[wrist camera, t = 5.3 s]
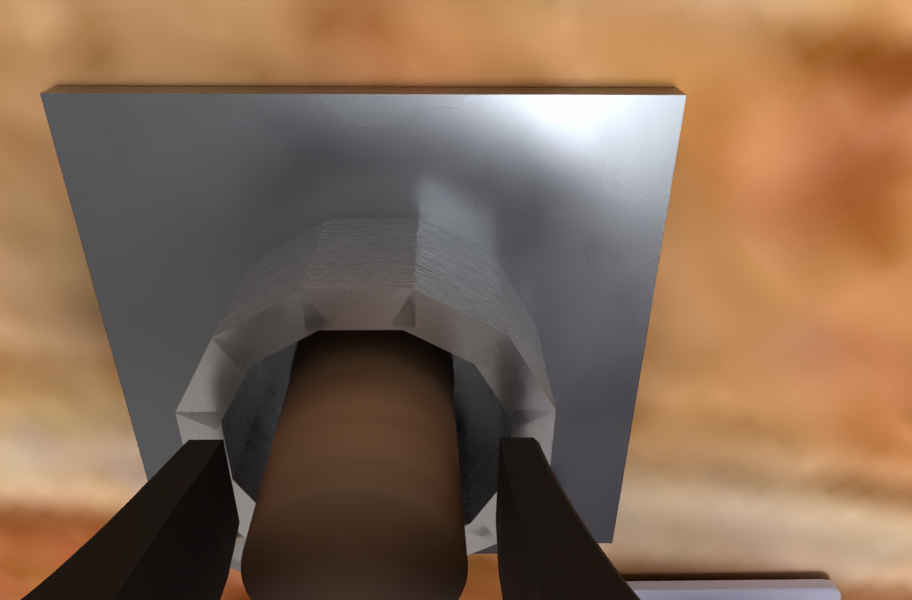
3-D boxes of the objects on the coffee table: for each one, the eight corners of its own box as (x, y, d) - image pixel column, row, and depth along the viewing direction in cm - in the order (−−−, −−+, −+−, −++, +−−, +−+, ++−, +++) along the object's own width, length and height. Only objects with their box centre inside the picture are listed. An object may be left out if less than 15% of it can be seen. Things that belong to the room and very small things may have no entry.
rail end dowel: (446, 422, 17) (461, 649, 12) (298, 418, 17) (244, 648, 11) (458, 293, 15) (482, 487, 10) (294, 285, 15) (229, 481, 10)
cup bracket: (607, 525, 20) (639, 644, 17) (173, 530, 19) (122, 650, 16) (677, 87, 14) (746, 142, 11) (55, 85, 14) (-62, 141, 10)
